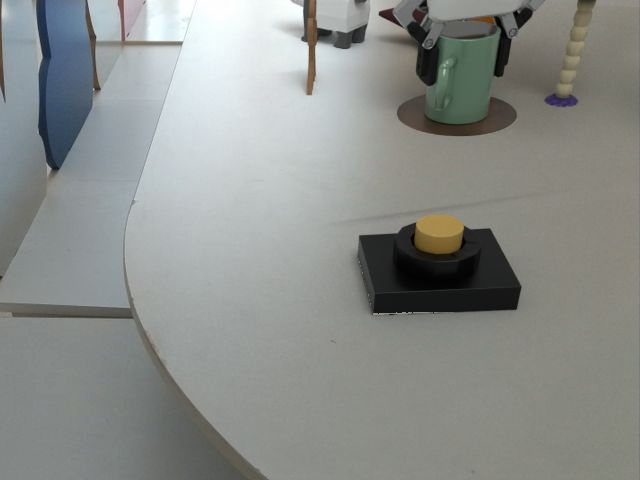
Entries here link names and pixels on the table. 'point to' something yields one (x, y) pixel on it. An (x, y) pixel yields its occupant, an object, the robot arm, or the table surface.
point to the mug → (463, 72)
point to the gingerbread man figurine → (311, 45)
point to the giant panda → (338, 19)
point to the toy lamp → (572, 56)
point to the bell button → (438, 234)
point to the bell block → (437, 274)
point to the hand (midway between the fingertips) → (460, 76)
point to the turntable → (455, 124)
